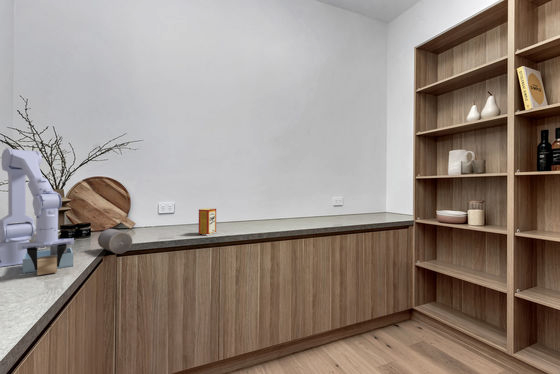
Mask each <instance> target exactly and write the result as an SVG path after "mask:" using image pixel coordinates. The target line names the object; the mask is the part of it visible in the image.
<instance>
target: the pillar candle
mask: <svg viewBox="0 0 560 374" xmlns="http://www.w3.org/2000/svg"><path fill="white" fill-rule="evenodd" d="M97 243H98V246H99V247H100V248H102V249H104V250H106V251H109V252H111V253H114V254H117V255H118V254H125V253H126V252H128V251H129V250H130V249H131V247H132V245H133V237H132V236H131V234H130V233H128V232H126V231H121V230H118V229H116V228H115V229H114V228H108V229H104V230H103V231H102V232H100V234H99V235H98V238H97Z"/></svg>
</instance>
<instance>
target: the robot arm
mask: <svg viewBox="0 0 560 374" xmlns="http://www.w3.org/2000/svg"><path fill="white" fill-rule="evenodd" d="M42 158H43V157H42V154H41V152H40V151H38V150H28V149H27V150H25V149H15V148H7V147H6V148H5V149H4V150H3V151H2V154H1V169H2V171H5V172H6V173H7V176H8V181H7V184H8V186H7V188H8V189H7V190H8V195H7V196H8V199H7V200H8V201H7V202H8V203H7V205H8V207H7V208H8V211H7V213H8V214H7V215H5V216H4V217H2V218H1V219H0V268H1V267H2V268H3V267H10V266H17V265H23V256H24V253H26V252H27V253H28V255H29V256H30V258H31V259H32V262H33V264H34V267H35V270H37V251H38V250H37V248H41V247H46V248H47V247H50V246H57V267H59V264H60V260H61V257H62V255H63V253H64V251H65V249H66V247H67V248H68V245H71V246H72V245H74V244H75V238H74V237H72V238H71V237H70V238H59V210H60V209H61V208H62V204H63V198H62V196H61V194H60V193H58V192H57V191H55V190H54V189H53V187H52V186H51V185H52V184H50V181H49V180H48V178H46V177H43V175H42V171H41V168H40V166H41V164H42ZM26 177H27V178H28V179H29V181H28V182H27V187H28V189H29V191H30V193H31V195H32V198H33V199H32V207H33V212H34V216H36V217H35V220H34V218H33V217H31V216H29V215H28V214H27V211H26V210H27V209H26V208H27V207H26V202H27V201H26V198H27V197H26V196H27V195H26V192H27V190H26V179H27V178H26ZM35 227H36V241H34V242H30V239H31V237H32V236H33V235H34V234H35ZM40 245H43V246H40ZM66 245H67V246H66Z"/></svg>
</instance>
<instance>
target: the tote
mask: <svg viewBox="0 0 560 374" xmlns="http://www.w3.org/2000/svg"><path fill="white" fill-rule="evenodd" d="M43 256H50V249H43V250H37V260H38V257H43ZM71 267H74V252H73V248H72V246H70V247H67V254H63V255H62V257H61V260H60V264H59V267H57V270H58V269H63V268H71ZM31 273H37V270H35V267H34V264H33V262H32V259H31V258H30V256H29V255H28V253H27V252H26V253H24V256H23V264H22V275H25V274H31Z"/></svg>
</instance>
